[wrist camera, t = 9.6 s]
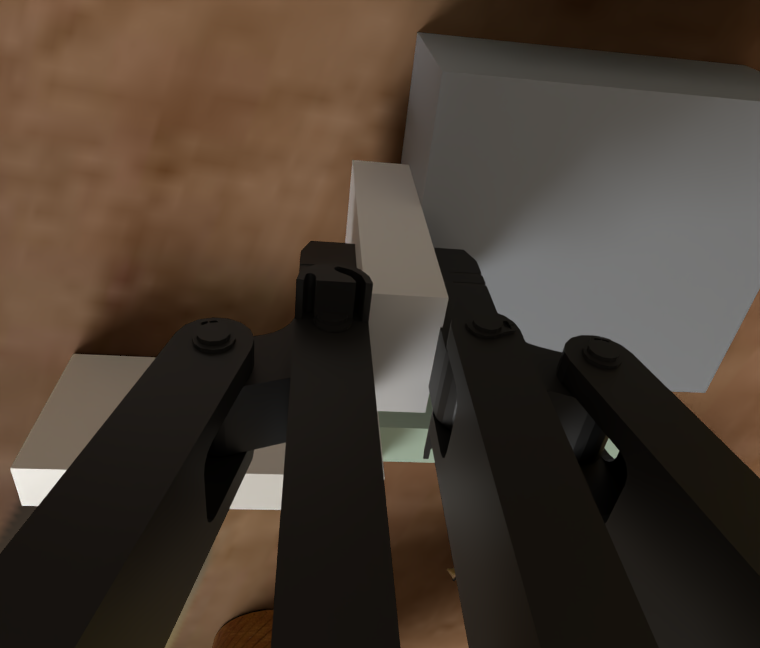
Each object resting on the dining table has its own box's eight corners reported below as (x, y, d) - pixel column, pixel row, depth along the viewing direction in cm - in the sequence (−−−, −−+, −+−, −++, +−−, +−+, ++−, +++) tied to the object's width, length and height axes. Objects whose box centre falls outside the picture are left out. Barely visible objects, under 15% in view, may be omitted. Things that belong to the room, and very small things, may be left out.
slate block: (383, 293, 21) (395, 381, 17) (415, 29, 16) (441, 71, 12) (640, 306, 22) (705, 392, 18) (739, 62, 17) (852, 110, 13)
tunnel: (80, 388, 21) (22, 505, 17) (-46, -222, 12) (-228, -278, 8) (629, 409, 24) (691, 516, 20) (852, -91, 15) (1053, -85, 11)
